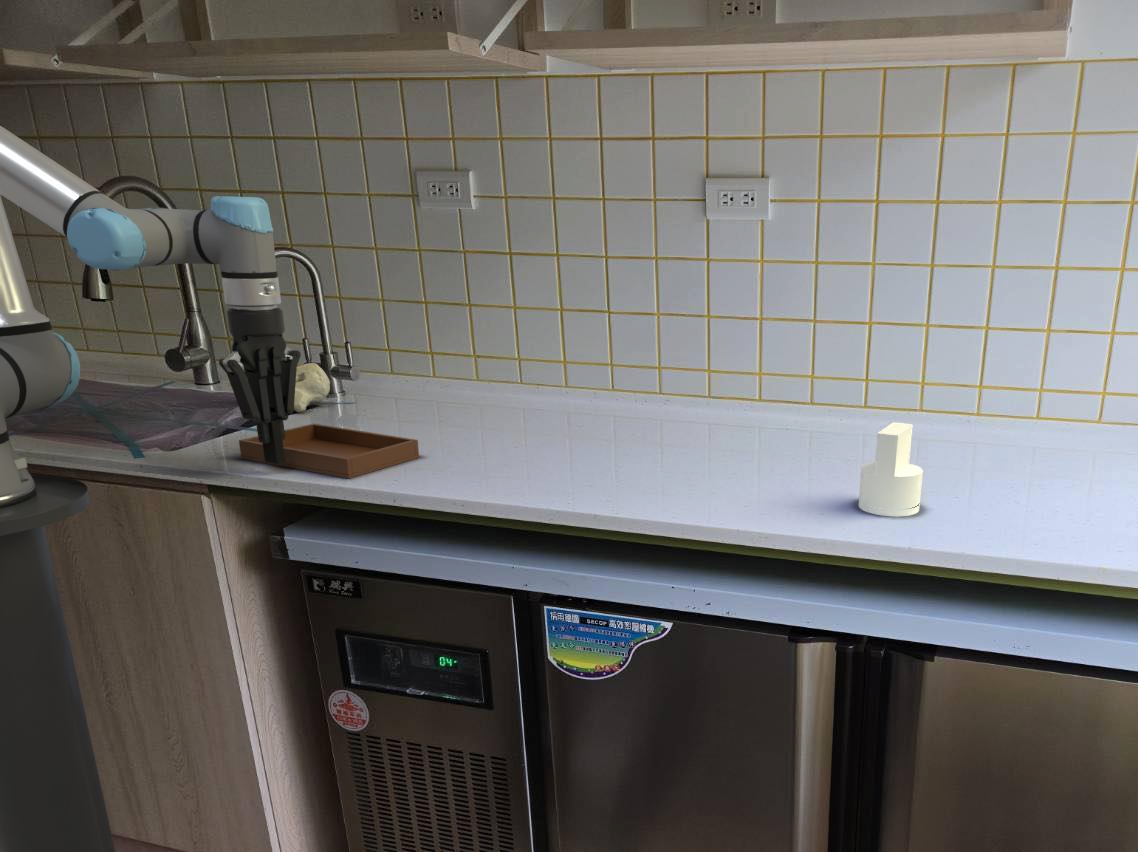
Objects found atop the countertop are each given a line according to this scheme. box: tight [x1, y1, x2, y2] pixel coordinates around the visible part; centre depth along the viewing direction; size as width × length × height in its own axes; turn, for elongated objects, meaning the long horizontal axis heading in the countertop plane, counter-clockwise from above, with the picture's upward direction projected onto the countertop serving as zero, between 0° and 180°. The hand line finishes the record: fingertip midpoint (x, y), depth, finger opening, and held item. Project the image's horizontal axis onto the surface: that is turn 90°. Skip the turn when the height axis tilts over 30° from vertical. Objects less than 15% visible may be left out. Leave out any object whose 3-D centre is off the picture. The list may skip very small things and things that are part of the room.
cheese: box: [294, 362, 331, 413], centre depth 200 cm, size 15×7×15 cm
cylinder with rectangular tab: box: [858, 421, 924, 518], centre depth 144 cm, size 9×9×12 cm
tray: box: [238, 423, 420, 479], centre depth 162 cm, size 16×24×3 cm, turn 65°
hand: (275, 461), depth 153 cm, fingers closed
